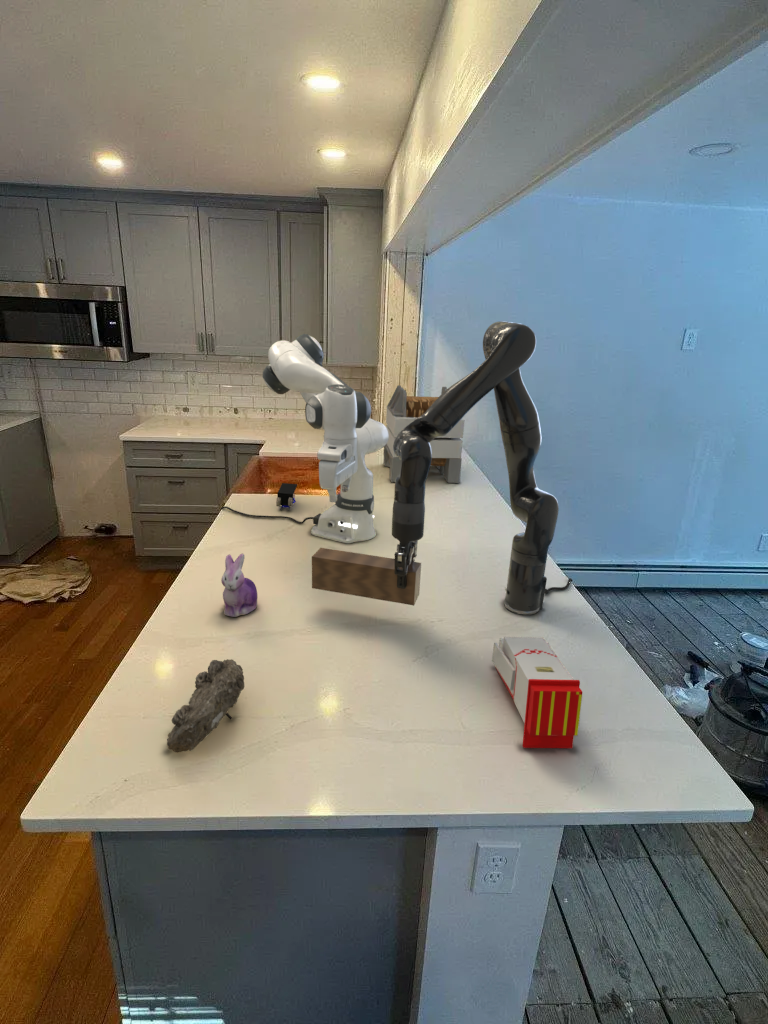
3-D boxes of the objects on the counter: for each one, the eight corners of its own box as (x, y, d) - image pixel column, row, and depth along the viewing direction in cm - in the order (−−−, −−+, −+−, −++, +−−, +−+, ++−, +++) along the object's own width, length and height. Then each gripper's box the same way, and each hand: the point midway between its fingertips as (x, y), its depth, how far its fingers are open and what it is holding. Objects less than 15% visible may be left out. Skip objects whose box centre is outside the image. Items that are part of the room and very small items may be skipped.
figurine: (226, 621, 140) (223, 566, 135) (217, 603, 148) (214, 550, 143) (264, 614, 144) (262, 560, 139) (253, 596, 153) (251, 545, 148)
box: (311, 588, 143) (311, 556, 140) (320, 578, 148) (320, 547, 145) (413, 605, 136) (415, 572, 133) (419, 594, 142) (421, 562, 139)
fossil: (192, 660, 117) (244, 628, 112) (224, 691, 120) (276, 661, 115) (142, 746, 98) (202, 712, 93) (182, 779, 101) (242, 748, 96)
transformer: (382, 463, 289) (386, 382, 275) (445, 464, 293) (451, 384, 279) (390, 482, 257) (394, 392, 243) (460, 483, 261) (468, 394, 247)
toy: (540, 620, 128) (592, 687, 99) (535, 674, 131) (584, 755, 102) (487, 619, 128) (523, 686, 99) (483, 673, 131) (517, 754, 101)
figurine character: (293, 515, 216) (298, 499, 229) (292, 497, 212) (297, 481, 226) (275, 515, 216) (281, 498, 229) (274, 497, 212) (280, 481, 226)
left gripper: (342, 438, 162) (342, 485, 167) (314, 454, 143) (314, 506, 148) (363, 440, 160) (362, 487, 165) (337, 456, 142) (337, 509, 147)
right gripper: (417, 530, 125) (413, 598, 131) (430, 509, 138) (426, 572, 144) (384, 525, 127) (381, 592, 133) (400, 506, 140) (397, 567, 146)
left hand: (339, 496), depth 156 cm, fingers open, 8 cm apart
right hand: (404, 581), depth 138 cm, fingers closed on box, 6 cm apart
